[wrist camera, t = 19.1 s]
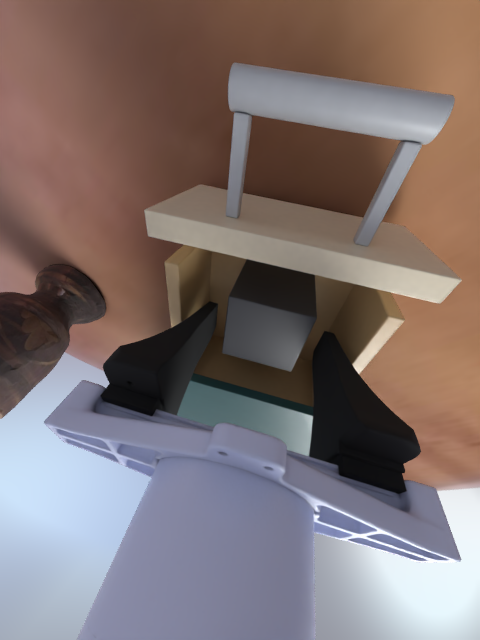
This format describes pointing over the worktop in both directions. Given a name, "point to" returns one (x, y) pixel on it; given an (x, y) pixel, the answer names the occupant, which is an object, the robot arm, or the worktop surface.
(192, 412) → the cabinet
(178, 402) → the robot arm
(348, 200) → the worktop surface
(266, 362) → the block
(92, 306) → the mortar and pestle
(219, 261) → the drawer
